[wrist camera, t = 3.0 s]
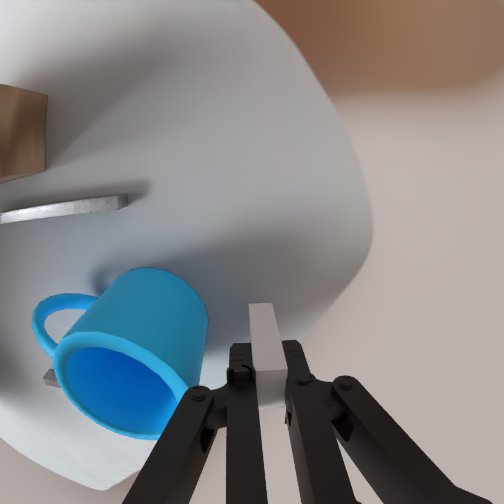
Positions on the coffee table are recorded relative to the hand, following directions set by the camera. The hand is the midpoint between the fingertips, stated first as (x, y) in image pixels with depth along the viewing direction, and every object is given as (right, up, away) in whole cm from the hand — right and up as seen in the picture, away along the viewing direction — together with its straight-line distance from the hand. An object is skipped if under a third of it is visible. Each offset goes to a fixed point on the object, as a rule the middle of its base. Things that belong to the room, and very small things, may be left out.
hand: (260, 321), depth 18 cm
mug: (-10, 0, +1) cm, 10 cm away
